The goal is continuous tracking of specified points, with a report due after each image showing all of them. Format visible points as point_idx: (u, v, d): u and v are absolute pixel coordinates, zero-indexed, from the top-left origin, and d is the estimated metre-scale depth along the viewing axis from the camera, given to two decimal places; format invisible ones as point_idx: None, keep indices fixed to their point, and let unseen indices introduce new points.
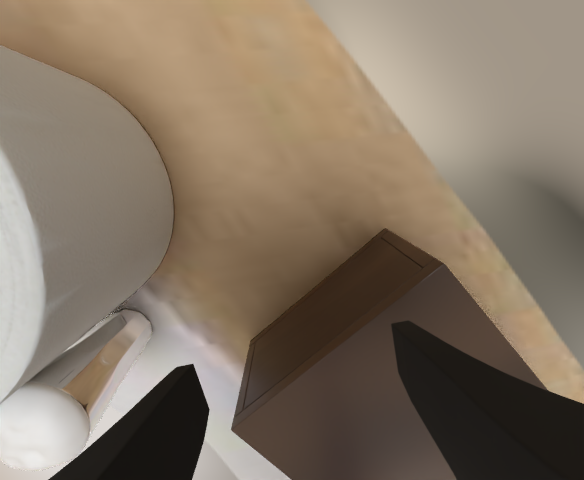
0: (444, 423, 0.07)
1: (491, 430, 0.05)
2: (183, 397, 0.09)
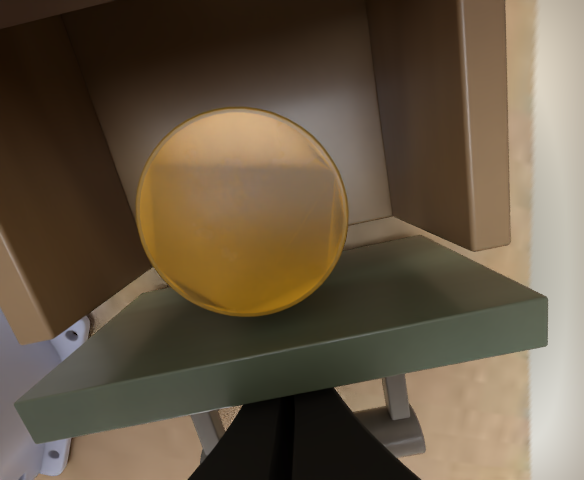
0: None
1: (296, 466, 0.05)
2: None
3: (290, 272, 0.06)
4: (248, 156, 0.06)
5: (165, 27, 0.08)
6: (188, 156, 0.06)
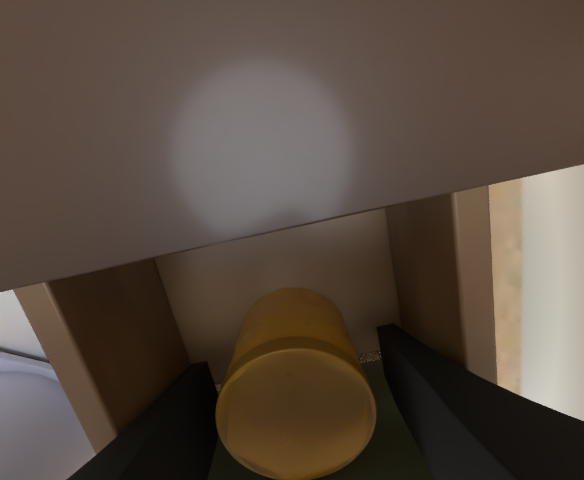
0: (424, 427, 0.07)
1: (462, 435, 0.05)
2: (199, 394, 0.09)
3: (331, 451, 0.08)
4: (302, 379, 0.07)
5: None
6: (258, 380, 0.07)
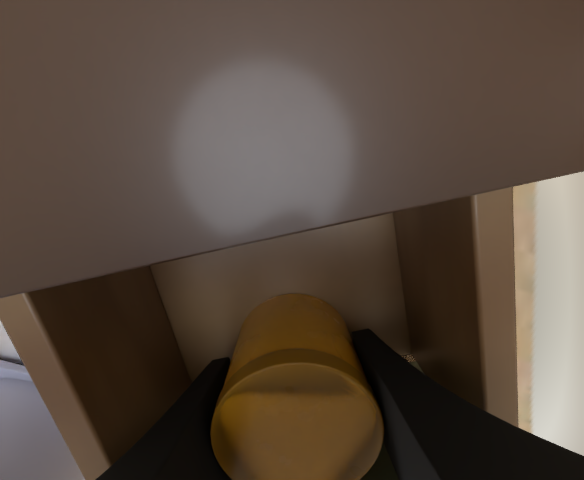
0: (390, 433, 0.07)
1: (414, 444, 0.05)
2: None
3: (334, 471, 0.08)
4: (304, 395, 0.07)
5: None
6: (256, 396, 0.07)
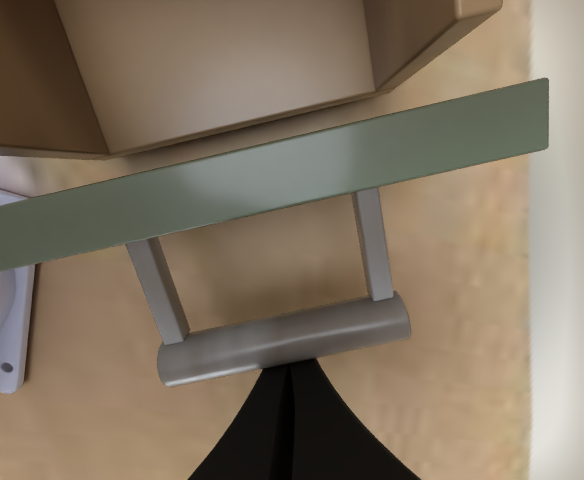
0: None
1: (296, 466, 0.05)
2: None
3: None
4: None
5: None
6: None
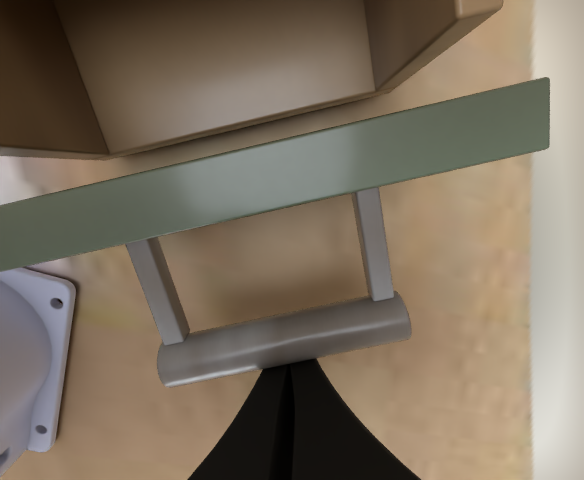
0: None
1: (296, 466, 0.05)
2: None
3: None
4: None
5: None
6: None
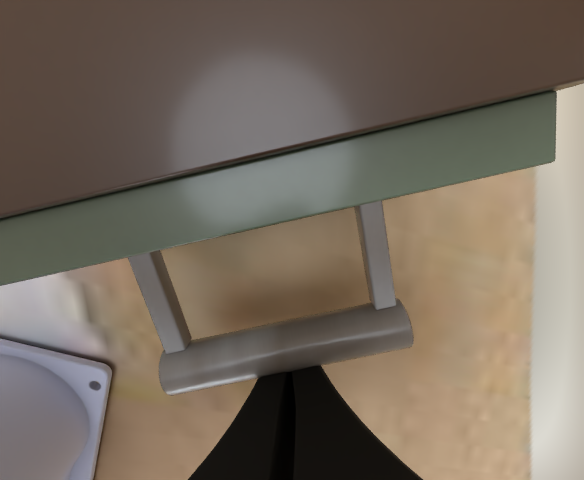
0: None
1: (298, 466, 0.05)
2: None
3: None
4: None
5: None
6: None
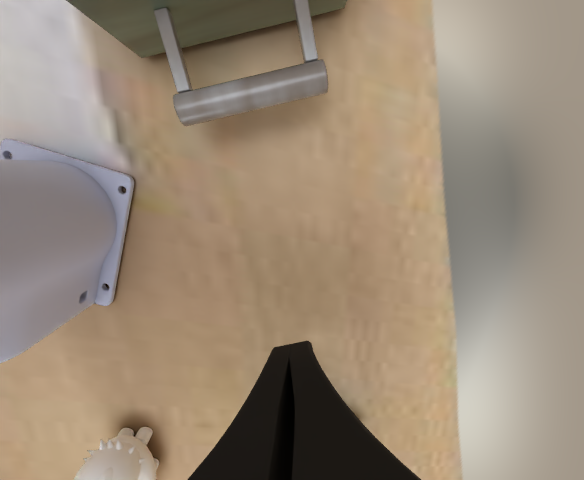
0: None
1: (296, 466, 0.05)
2: None
3: None
4: None
5: None
6: None
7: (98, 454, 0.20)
